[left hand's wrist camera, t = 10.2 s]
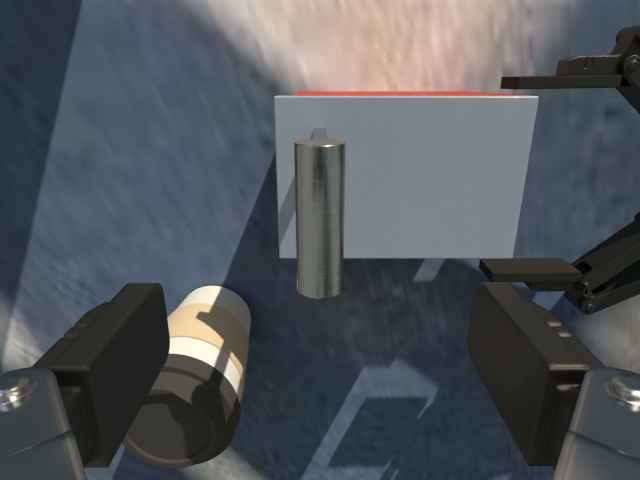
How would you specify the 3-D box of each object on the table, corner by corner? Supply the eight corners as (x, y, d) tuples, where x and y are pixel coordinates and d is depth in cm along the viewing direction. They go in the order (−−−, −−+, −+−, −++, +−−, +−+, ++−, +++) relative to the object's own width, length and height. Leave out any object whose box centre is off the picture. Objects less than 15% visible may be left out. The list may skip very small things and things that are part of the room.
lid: (281, 251, 28) (262, 329, 19) (275, 95, 25) (250, 103, 16) (504, 251, 28) (589, 330, 19) (529, 95, 25) (645, 103, 16)
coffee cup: (221, 372, 44) (176, 507, 30) (150, 318, 42) (65, 436, 28) (281, 316, 42) (262, 434, 28) (209, 256, 40) (149, 351, 26)
